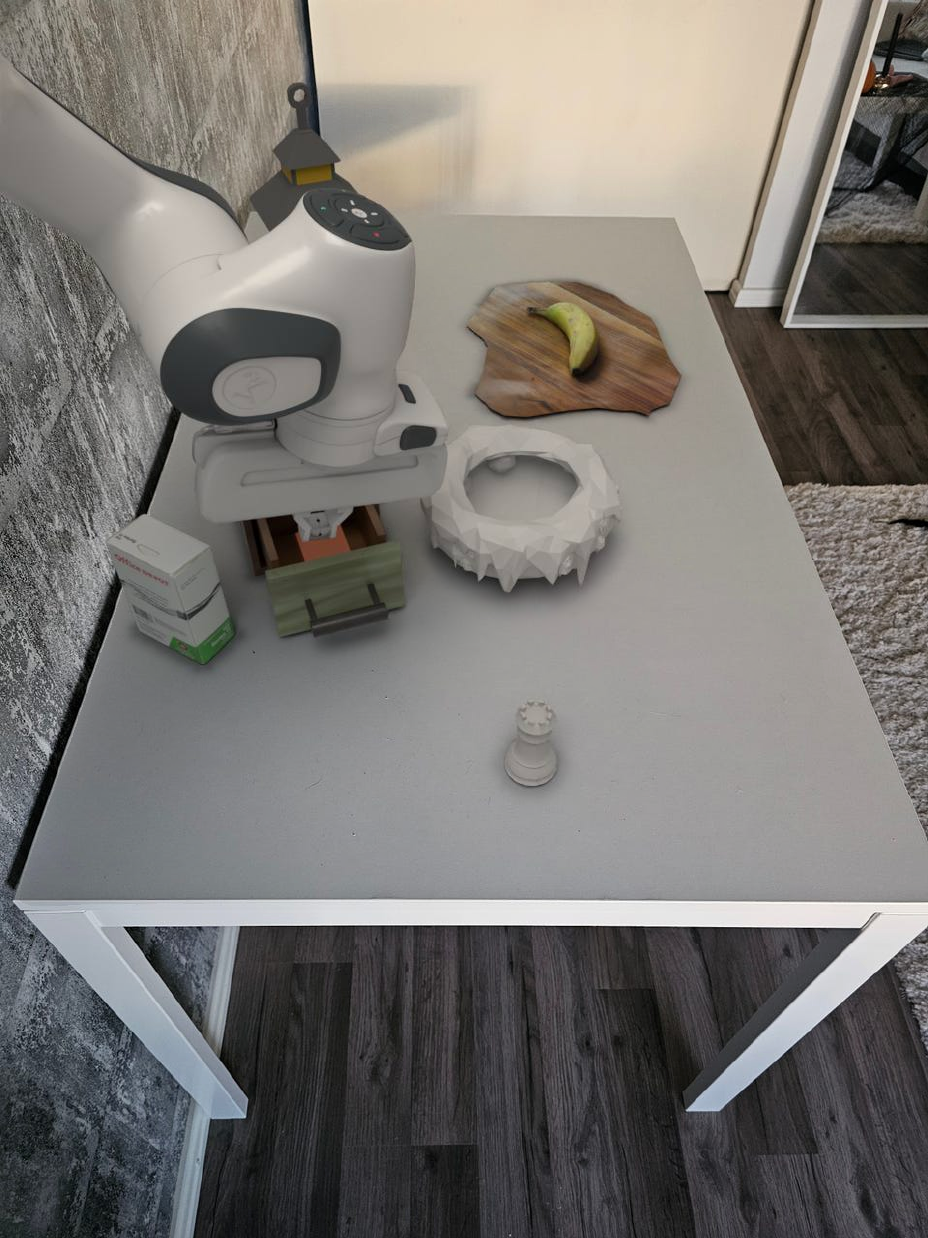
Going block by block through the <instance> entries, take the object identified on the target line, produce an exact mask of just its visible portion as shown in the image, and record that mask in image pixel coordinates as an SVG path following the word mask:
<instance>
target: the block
mask: <svg viewBox="0 0 928 1238" xmlns="http://www.w3.org/2000/svg"><path fill="white" fill-rule="evenodd" d="M295 537H296V543H297V548H298V554H299V560H300V563H301V562H305V561H309V560H313V559H318V558H322V557H326V556H330V555H335V554H339V553H343V552H348V551H351V550H350V547H349V545H348V542H347V540H346V537H345V535H344V532H343V530H342V527H341V525H339V526H337V532H336V537H335V538H328V539H320V540H312V541H306V542H302V540H301V537H300V534H299V532H297V533H295Z"/></svg>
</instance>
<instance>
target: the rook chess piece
mask: <svg viewBox="0 0 928 1238" xmlns="http://www.w3.org/2000/svg"><path fill="white" fill-rule="evenodd" d="M515 723H516V728H517V729H516V730H517V734H518V735H517V738H515V740H513V741H512V742H511V743H510V744H509V746H508V748H507V751H506V754H505V758H504V769H505V771H506V773H507V775H508V776H509V777H510V778H511V779H513V781H515V783H518V784H521V785H522V786H527V787H538V786H540V785H544V784H547V783H548V782H549V781H550V780H552V778H553V777H554V775H555V773H556V771H557V753H556V751H555V749H554V747H553V745H552V743H550V741H549V739H550V737H551V735H552V733H553V729H554V727H555V725H556V723H557V716H556V714H555V712H554V710H553V707H551V704H548V705H547V704H546V700H544V699H541V698H539V699H538V701H535V700H534V698H530V699H527V703H522V705H521V706H520V707H519V708H517V711H516V712H515Z"/></svg>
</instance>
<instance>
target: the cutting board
mask: <svg viewBox="0 0 928 1238" xmlns="http://www.w3.org/2000/svg"><path fill="white" fill-rule="evenodd" d="M466 327H468V328H469V329H470V330H471V331H472V332H473V333H475V334H476V335H477V336H478V337H480V338H481V339H483V341H484V343H485V344H486V346H487V350H486V354H485V359H484V367H483V371H482V373H481V375H480V378H479V380H478V382H477V385H476V388H475V391H474V394H475V395H476V396H477V397H478V398H479V399H480V400H481V401H483V402H484V403H485V404H486V405H487V407H488V408H489V409H490V410H493V411H495V412H496V413H499V414H501V415H503V416H507V417H508V416H510V417H522V418H523V417H524V418H528V417H534V416H540V415H547V414H554V413H560V412H566V411H567V412H568V411H575V410H576V411H577V410H586V409H597V408H599V409H606V410H607V409H608V410H613V411H614V410H615V411H621V412H622V411H623V412H628V411H634V412H637V413H640V414H644V415H646V416H649V415H650V413H651V411H653V410H655V409H658V408H660V407H663V406H666V405H669V404H670V403H671V401H672V398H673V396H674V393H675V391H676V389H677V386H678V383H679V381H680V379H681V377H682V373H680V372H679V370H678V368H676V366H675V364H674V363H673V362H672V360H671V358H670V356H669V354H668V351H667V349H666V347H665V345H664V342H663V339H662V337H661V335H660V332H659V329H658V327H657V325H656V323H655V322H654V321H653V319H652V317H650V316H649V315H647V314H646V313H644V312H642V311H640V310H638V309H637V308H635V307H633V306H631V305H629V304H627V303H626V302H624V301H623V300H622V299H621V298H619V297H618V296H616V295H615V294H614V293H609V292H607V291H605V290H602V289H600V288H597V287H594V286H592V285H587V284H585V283H581V282H578V281H543V282H524V283H513V284H505V285H504V284H503V285H497V286H495V288H494V289H492V291H491V293H490V294H489V295H488V296H487V298H486V299H485V301H484V302H483V303H482V305H481V306H480V307H479V308H478V310H477V311H476V312H475V313H474V314H473V315H472V316H471V318H470V319H469V321H468V323H467V324H466Z"/></svg>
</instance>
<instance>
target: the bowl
mask: <svg viewBox="0 0 928 1238" xmlns="http://www.w3.org/2000/svg"><path fill="white" fill-rule="evenodd" d="M446 447H447V451H448V458H447V467H446V472H445V477H444V481H443V484H442V487H441V488H440V489H439V490H438V491H437V492H436V493H435V494H433V495H432V496H431V497H428V498H420V499H419V503H420V509H421V510H422V512H423V515H424V516H425V520H426V525H427V530H428V535H429V539H430V544H431V547H432V548H433V549H434V550H435V549H437V548H439V549H440V550H441V551H442V552H443V553H445V554H446V555H447V556H448V557H449V558H450V559H451V560H452V561H453V562H454V567H455V568H456V567H457V565H458V566H460V567H461V568H463V570H464V571H467V572H473V573H474V574H476V575H477V582H480V581H481V580H482V579H483V578H484V577H485V576H486V577H491V578H495V579H498V581H499V584H500V586H501V588H502V591H503V592H505V593H510V592H511V591H512V590H513V588H514V587H515V584H516V583H517V582H518V579H520V580H521V579H522V580H523V579H539V578H543V577H544V578H546V579H547V581H548V582H549V583H550V584H551V585H552V586H553V585H554V584H555V582H556V580H557V578H558V577H561V575H562V576H563V575H565V576H567V575H568V574H570V573H571V572H572V570H574V569H576V573H577V574H576V575H577V581H578V584H579V587H581V586H582V585H583V582H584V579H585V576H586V572H587V568H588V565H589V562H590V557H591V554H593V552H596V554H595V555H597V554H599V552H600V551H601V550H602V549H603V548H604V547H605V545H606V538H607V536H608V535H609V534H610V532H611V530H612V528H613V525H614V523H615V521H617V523H620V522H621V513H622V510H623V509H624V508H625V507H624V506H623V504H622V501H621V499H620V498H619V497H618V496H619V495H620V492H619V485H617V484H615V482H614V480H613V477H612V475H611V472H610V470H609V468H608V466H607V463H606V461H605V459H604V458H603V456H602V455H601V453H600V452H599V451H598V450H597V449H596V448H595V447H594V446H593V445H592V444H590V443H579V442H577V441H575V440H572V439H571V438H568V437H566V436H564V435H562V434H560V433H559V434H558V433H555V432H553V431H549V430H546V429H539V428H530V427H524V426H520V425H514V424H505V425H498V426H495V425H469V426H468V427H467V428H466V429H465V430H463V431H462V433H461V434H459V436H458V437H456V438H455V439H454V440H453V441H452V442H451V443H449V444H448V445H446Z"/></svg>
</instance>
